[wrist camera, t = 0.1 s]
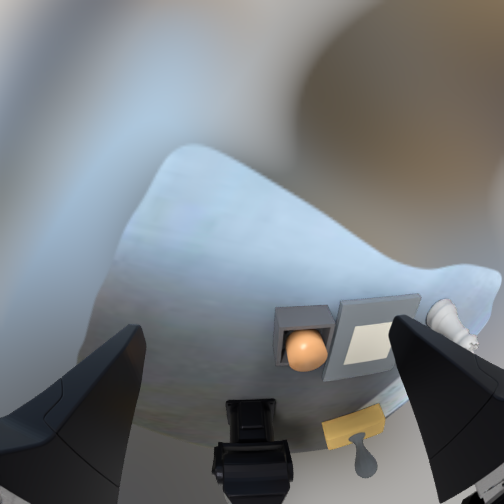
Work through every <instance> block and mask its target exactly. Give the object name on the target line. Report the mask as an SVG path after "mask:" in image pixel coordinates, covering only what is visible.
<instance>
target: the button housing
mask: <svg viewBox="0 0 504 504" xmlns="http://www.w3.org/2000/svg"><path fill="white" fill-rule="evenodd" d="M335 324H336V323H335V321H334V319H333V317H332V315H331V312H330V310H329V308H328V306H327V305H316V306H297V307H275V322H274V336H273V350H274V357H275V363H276V366H286V365H289V362H288V357H287V352H286V347H285V341H286V338H287V337H288V336H289V335H290V334H291V333H292V332H293V331H295V330H302V329H316V330H318V331H319V332H320V334H321V336H322V339H323V342H324V345H325V348H326V350H327V354H328V353H329V349H330V345H331V341H332V337H333V333H334V328H335ZM326 360H327V359H326ZM325 362H326V361H325Z"/></svg>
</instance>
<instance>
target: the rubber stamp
mask: <svg viewBox="0 0 504 504" xmlns="http://www.w3.org/2000/svg"><path fill="white" fill-rule="evenodd" d="M384 424H385V416H384V414H383V412H382V409H381V407H380V404H376V405H373V406H370V407H368V408H365V409H362V410H359V411H357V412H354V413H351V414H348V415H345V416H342V417H338V418H335V419H332V420H329V421H325V422H322V426H323V430H324V434H325V438H326V442H327V446H328V449H329V450H332V449H335V448H338V447H342V446H345V445H348V444H351V443H354V444H355V445H356V459H355V471H356V473H357V474H358V475H359V476H360V477H362V478H369V477H371V476H373V475H374V474H375V472H376V471H377V462H376V460H375V458H374V457H373V456H372V455H371V454H370V452H368V450H367V449H366V448H365V447H364V445H363V439H366V438H369V437H372V436H374V435H377V434H380V433H381V432H383V429H384Z"/></svg>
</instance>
